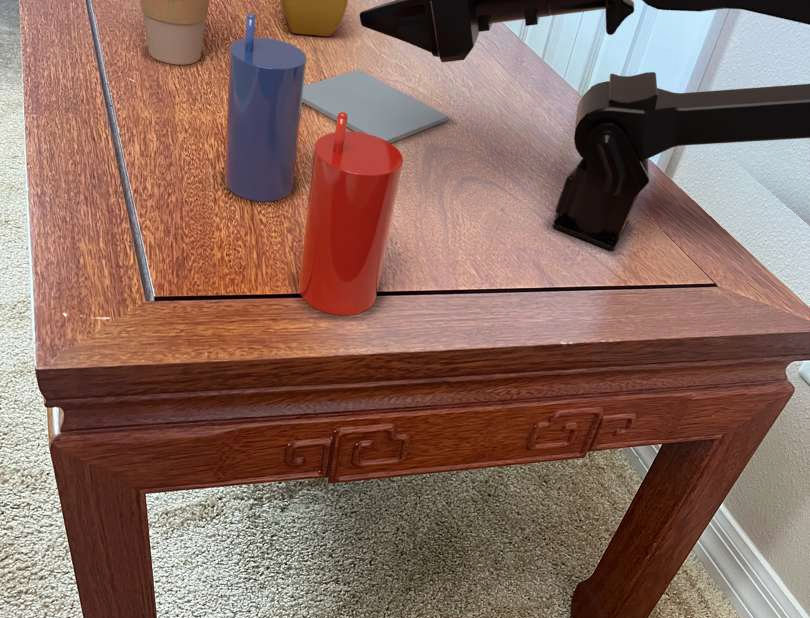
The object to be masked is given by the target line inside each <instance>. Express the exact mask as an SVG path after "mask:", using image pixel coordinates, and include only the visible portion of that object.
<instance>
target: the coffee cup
mask: <svg viewBox="0 0 810 618" xmlns="http://www.w3.org/2000/svg"><path fill="white" fill-rule="evenodd" d="M139 1H140V9H141V11H142V13H143V21H144V29H145V37H146V43H147V44H146V45H147V51H148V54H149V56H150V57H151V58H153V59H154V60H156V61H159V62H162V63H165V64H170V65H175V66H176V65H177V66H185V65H192V64H194V63H196V62H199V60H200V59H201V57H202V52H203V43H204V37H205V36H204V35H205V28H206V27H205V26H206V21H207V20H206V19H207V17H208V14H209V4H210V0H139Z"/></svg>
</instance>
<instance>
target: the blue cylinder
mask: <svg viewBox="0 0 810 618" xmlns="http://www.w3.org/2000/svg"><path fill="white" fill-rule="evenodd" d="M245 23H246V24H245V26H246V27H245V37H244V38H240V39H238V40H235V41H233V42H232V43H231V44H230V46H229V56H228V59H229V60H228V83H227V105H226V106H227V107H226V110H227V111H226V131H225V132H226V133H225V157H224V158H225V159H224V160H225V161H224V184H225V187H226V188H227V189H228V190H229V191H230V192H231V193H233V194H234V195H236V196H238V197H239V198H243V199H245V200H248V201H253V202H254V201H255V202H267V203H268V202H276V201H280V200H283V199H285V198H288V197H289V196H290V195H291V193H293V191H294V185H295V174H296V164H297V155H298V145H299V136H300V125H301V116H302V105H303V102H302V97H303V88H304V85H305V77H306V69H307V68H306V67H307V56H306V54H305V52H304V51H302V49H300V48H299V47H298V46H296V45H294V44H291V43H289V42H286V41H282V40H279V39H274V38H267V37H255V31H256V15H255V14H253V13H251V12H250V13H248V14H247V15H246V22H245Z"/></svg>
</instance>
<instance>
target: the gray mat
mask: <svg viewBox="0 0 810 618" xmlns="http://www.w3.org/2000/svg"><path fill="white" fill-rule="evenodd" d="M302 104H305V105H307V107H310V108H312V109H313V110H315V111H317V112H319V113H321V114H323V115H324V116H326V117H328V118H329V119H331V120H333V121H335V122H337V116H338V114H339V113H340V112H345V113H346V114H347V117H348V118H347V125H346V128H347V129H350V131H352V132H360V133H365V134H370V135H373V136H376V137H379V138H381V139H383V140H385V141H387V142H389V143H391V144H392V143H395V142H397V141H400V140H402V139H405V138H408V137H410V136H413V135H415V134H417V133H420V132H423V131H425V130H428V129H430V128H433V127H435V126H437V125H440V124H443V123H446V122H447V121H448V120H449V115H447V114H446V113H443V112H442V111H440V110H438V109H436V108H434V107H432V106H430V105H428V104H426V103H425V102H422V101H420V100H419V99H417V98H415V97H413V96H411V95H410V94H407V93H405V92H403V91H401V90H399V89H397V88H395V87H393V86H392V85H390V84H387V83H386V82H384V81H382V80H380V79H378V78H376V77H375V76H372V75H370V74H369V73H366V72H365V71H363V70H361V69H355V70H353V71H348V72H347V73H346V72H345V73H341V74H338V75H336V76H332V77H327V78H324V79H322V80H319V81H315V82H312V83H308V84H304V88H303V97H302Z"/></svg>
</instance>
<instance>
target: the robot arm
mask: <svg viewBox="0 0 810 618" xmlns="http://www.w3.org/2000/svg"><path fill="white" fill-rule="evenodd" d="M641 1H642V2H643V3H644V4H646V6H648V7H650V8H651V7H652V9H656V10H659V11H678V12H699V13H700V12H709V11H716V10H717V11H718V10H725V9H728V10H743V11H747V12H752V13H757V14H761V15H765V16H769V17H773V18H777V19H782V20H786V21H790V22H795V23H799V24H804V25H808V26H810V0H641ZM601 10H605V33H606V34H607V35H608V36H613V35H614V34H615V33H616V31H617V30H618V29H619V27H620V26H621V25H622V23H623V22H624V21H625V20H626V19H627V18H628V17H629V16H631V15H632V14H634V12H635V2H634V0H392V1H389V2H385V3H382V4H379V5H376V6H374V7H371V8H368V9H365V10H362V11H360V13H359V16H358V17H359V22H360V25H361V27H363V28H366V29H369V30H371V31H374V32H377V33H380V34H382V35H386V36H388V37H391V38H394V39H397V40H399V41H402V42H405V43H407V44H410V45H412V46H414V47H417V48H420V49H421V50H424V51H427V52H429V53H431V55H432V57H435V58H439V60H440V62H441V63H449V62H450V63H451V62H459V61H464V60H466V58H467V56H468V55H469V54H470V53H471V51H472V50H473V49H474V47H475V45H476V43H477V40H478V37H479V35H480V33H482V32H489V31H491V28H492V25H493V24H499V23H506V22H513V21H515V22H516V21H523V20H524V24H525V27H530V26H537V25H538V24H539V20H540V18H545V17H551V16H561V15H570V14H576V13H577V14H579V13H586V12H593V11H601ZM657 83H658V82H657V73H656V72H654V71H650V72H649V71H648V72H647V71H646V72H642V73H639V74H635V75H629V76H627V75H618V74H615V73H610V74H609V80H608V81H607V80H605V81H601V82H598V83H595V84H594V85H592V86H590V88H589V89H588V90H587V91H586V92H584V94H583V95H582V96H581V98H580V101H579V102H578V104H577V110H576V117H575V124H574V125H575V127H574V136H573V141H574V147H575V149H576V151H577V153H578V155H579V156H580V158H581V159H580V161H579V162H578V164H577V165H576V167H574V168H572V170H571V171H570V173H569V174H568V175H567V177H566V179H565V180H564V181H565V182H564V184H563V187H562V190H561V192H560V195H559V199H558V200H557V201H558V202H557V204H556V207H555V210H554V211H555V214H557V217H556V218H555V219H554V220H553V223H552V227H553V228H555V229H557V230H559V231H562V232H564V233H567V234H569V235H571V236H574V237H576V238H579V239H582V240H584V241H587V242H589V243H592V244H594V245H597V246H599V247H601V248H604V249H607V250H609V251H614V250H615V249H616V248H617V245H618V244H619V242H620V240H621V239H622V236H623V235H624V233H625V231H626V229H627V227H628V225H629V223H630V221H629V218H630V216H631V213H632V211H633V209H634V206H635V204H636V201H637V199H638V197H639V195H640V193H641V192H642V191H643V189H644V188H645V187H646V186H648V184H649V183H650V169H649V159H650V158H653V157H655V156H657V155H660V154H661V153H665V152H666V151H668V150H671V149H672V148H676V147H680V146H681V147H682V146H697V145H715V144H731V143H732V144H733V143H749V142H765V141H784V140H801V139H810V83H802V84H788V85H786V84H785V85H775V86H773V85H772V86H761V87H747V88H745V87H744V88H733V89H720V90H719V89H718V90H707V91H706V90H705V91H694V92H693V91H691V92H673V91H670V90H666V89H662V88H659V87H658V84H657Z"/></svg>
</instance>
